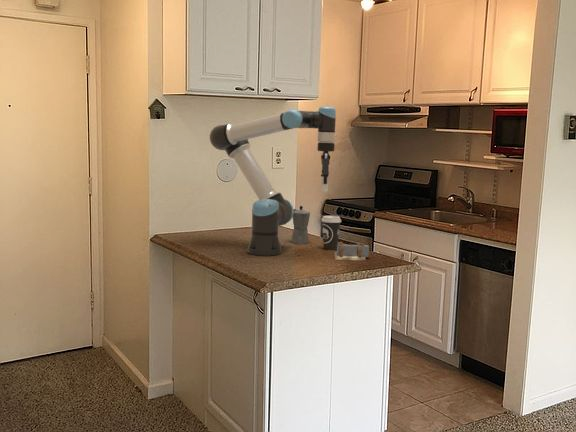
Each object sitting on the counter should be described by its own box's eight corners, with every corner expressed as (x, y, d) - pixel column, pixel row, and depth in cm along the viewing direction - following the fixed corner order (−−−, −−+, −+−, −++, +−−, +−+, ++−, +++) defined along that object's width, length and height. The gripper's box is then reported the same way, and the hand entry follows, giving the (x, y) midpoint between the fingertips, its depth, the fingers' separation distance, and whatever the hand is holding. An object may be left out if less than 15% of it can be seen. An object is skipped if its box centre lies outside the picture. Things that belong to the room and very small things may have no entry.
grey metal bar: (336, 255, 271) (337, 245, 271) (336, 253, 276) (336, 244, 275) (368, 256, 271) (368, 247, 270) (367, 254, 275) (368, 245, 275)
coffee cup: (339, 250, 288) (340, 218, 286) (318, 249, 290) (319, 217, 288) (341, 246, 297) (342, 216, 295) (321, 245, 299) (322, 214, 297)
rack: (335, 259, 268) (335, 245, 267) (334, 254, 279) (334, 241, 278) (365, 260, 268) (366, 246, 267) (363, 255, 279) (364, 242, 278)
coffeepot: (314, 243, 303) (315, 207, 300) (297, 245, 299) (298, 208, 296) (300, 238, 317) (301, 203, 314) (284, 239, 313) (285, 204, 310)
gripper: (335, 143, 262) (333, 193, 265) (333, 141, 287) (331, 187, 290) (318, 142, 263) (316, 192, 266) (317, 141, 287) (315, 187, 290)
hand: (324, 190), depth 278 cm, fingers open, 13 cm apart
